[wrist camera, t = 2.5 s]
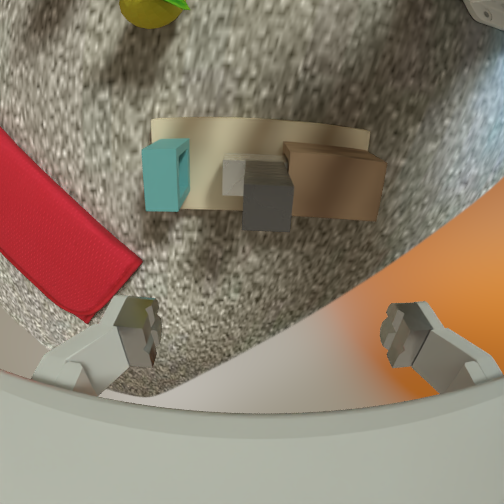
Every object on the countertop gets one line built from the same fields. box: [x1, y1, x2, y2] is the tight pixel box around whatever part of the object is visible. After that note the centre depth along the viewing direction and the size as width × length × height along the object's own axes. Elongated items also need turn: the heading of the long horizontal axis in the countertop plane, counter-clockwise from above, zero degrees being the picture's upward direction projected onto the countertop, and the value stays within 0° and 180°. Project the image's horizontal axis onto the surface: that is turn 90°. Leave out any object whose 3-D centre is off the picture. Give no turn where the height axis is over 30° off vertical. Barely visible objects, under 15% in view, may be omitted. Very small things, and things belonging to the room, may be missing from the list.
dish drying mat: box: [0, 127, 143, 324], centre depth 29 cm, size 16×41×4 cm, turn 44°
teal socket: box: [142, 138, 190, 212], centre depth 26 cm, size 3×5×5 cm, turn 177°
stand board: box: [151, 117, 370, 211], centre depth 29 cm, size 21×9×2 cm, turn 87°
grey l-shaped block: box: [222, 153, 294, 232], centre depth 23 cm, size 13×3×10 cm, turn 87°
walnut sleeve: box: [282, 141, 387, 222], centre depth 26 cm, size 8×5×5 cm, turn 87°
